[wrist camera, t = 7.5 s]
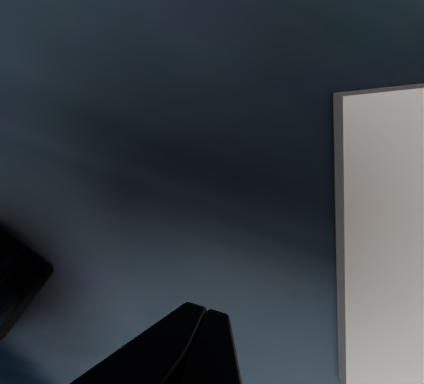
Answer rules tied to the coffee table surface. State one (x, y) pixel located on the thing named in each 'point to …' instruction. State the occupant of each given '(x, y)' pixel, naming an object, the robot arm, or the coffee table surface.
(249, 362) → the coffee table surface
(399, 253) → the white square board
